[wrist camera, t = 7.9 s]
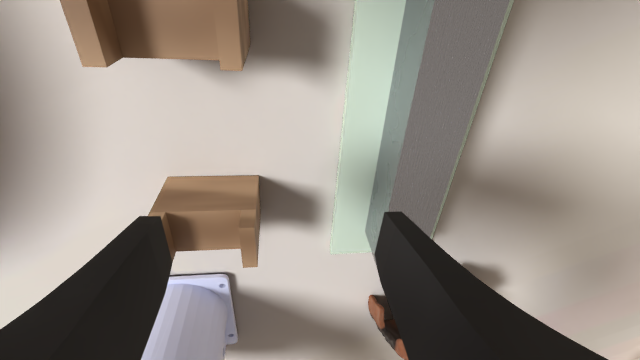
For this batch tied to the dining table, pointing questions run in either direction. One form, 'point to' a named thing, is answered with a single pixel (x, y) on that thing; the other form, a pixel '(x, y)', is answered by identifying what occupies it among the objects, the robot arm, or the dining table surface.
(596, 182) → the dining table surface
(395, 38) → the mat
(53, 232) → the dining table surface
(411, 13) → the rail
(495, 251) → the dining table surface
